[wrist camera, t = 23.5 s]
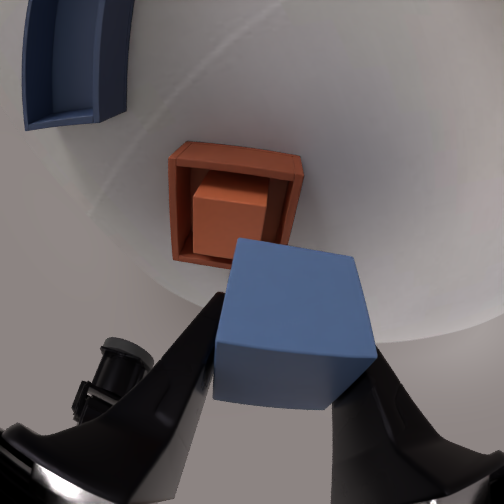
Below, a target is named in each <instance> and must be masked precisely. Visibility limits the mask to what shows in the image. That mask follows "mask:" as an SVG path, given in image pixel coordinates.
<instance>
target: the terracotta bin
mask: <svg viewBox="0 0 504 504" xmlns="http://www.w3.org/2000/svg"><path fill="white" fill-rule="evenodd" d="M209 170H218V171H226V172H234V173H241V174H249V175H256V176H262V177H268V178H269V188H268V199H267V208H266V214H265V220H264V225H263V231H262V237H261V241H264V242H270V243H276V244H282V245H288V241H289V237H290V233H291V229H292V225H293V221H294V217H295V213H296V209H297V204H298V200H299V196H300V192H301V187H302V183H303V179H304V173H303V168H302V163H301V159H300V156H297V155H292V154H286V153H280V152H274V151H268V150H261V149H255V148H247V147H240V146H232V145H223V144H213V143H203V142H191V141H186V142H185V143H184V144H183V145H182V146H181V147H179V148H178V149H177V150H176V151H175V152H174V153H173V154H172V155H171V156H170V157H169V158H168V177H169V208H170V227H171V243H172V256H173V260H176V261H179V260H180V261H182V262H188V263H194V264H200V265H206V266H212V267H218V268H224V269H231V266H232V261H233V259H228V258H222V257H216V256H209V255H203V254H197V253H193V196H194V194H195V192H196V191H197V189H198V187H199V186H200V184H201V183H202V181H203V179H204V178H205V176H206V175H207V173H208V171H209Z"/></svg>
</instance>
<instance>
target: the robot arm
mask: <svg viewBox="0 0 504 504" xmlns="http://www.w3.org/2000/svg"><path fill="white" fill-rule="evenodd" d="M224 298H225V293H223V292H217V293H216V294H215V295H214V296H213V297H212V299H211V300H210V301H209V302H208V303H207V305H206V306H205V307H204V308H203V309H202V311H201V312H200V313H199V314H198V315H197V316H196V318H195V319H194V320H193V321H192V322H191V324H190V325H189V326H188V327H187V328H186V329H185V330H184V332H183V333H182V334H181V335H180V336H179V338H178V339H177V340H176V341H175V343H173V345H172V346H171V347H170V348H169V349H168V351H167V352H166V353H165V354H164V355H163V356H162V358H161V360H159V361H158V362H157V363H156V365H155V366H154V367H153V368H152V369H151V370H150V371H149V372H148V373H147V370H146V368H145V366H144V364H143V361H142V359H141V358H139V357H137V356H133V355H130V354H126V353H123V352H120V351H116V350H113V349H110V348H107V347H104V346H101V348H100V350H101V351H102V353H103V357H102V359H101V362H100V364H99V366H98V369H97V371H96V374H95V376H94V379H93V381H92V383H91V382H89V381H87V382H85V381H82V382H81V384H80V387H79V389H78V392H77V394H76V397H75V400H74V402H73V405H72V410H73V412H74V413H73V415H74V418H73V420H75V421H76V422H77V425H76V426H75V427H72V428H69V429H66V430H63V431H61V432H58V433H55V434H51V435H45V436H43V435H40V434H38V433H36V432H34V431H32V430H31V429H29V428H27V427H26V426H24V425H22V424H20V423H16V424H14V425H12V426H10V427H9V428H7V429H6V430H3V429H2V428H0V504H157V502H161V501H166V500H170V499H174V497H175V494H176V491H177V488H178V485H179V481H180V478H181V475H182V472H183V469H184V466H185V462H186V459H187V456H188V452H189V450H190V446H191V443H192V440H193V437H194V433H195V431H196V427H197V424H198V421H199V418H200V415H201V411H202V408H203V405H204V402H205V399H206V396H207V392H208V389H209V386H210V383H211V380H212V376H213V373H214V357H215V340H216V335H217V330H218V326H219V321H220V316H221V311H222V307H223V302H224ZM375 346H376V345H375ZM376 351H377V359H376V360H375V361H374V362H373V363H372V364H371V365H370V366H369V367H368V368H367V369H366V371H365V372H364V373H363V374H362V375H361V376H360V377H359V378H358V379H357V380H356V381H355V382H354V383H353V384H352V385H351V386H350V387H349V388H348V389H346V390H345V391H344V392H343V393H342V394H341V395H340V396H339V397H338V398H337V399H336V400H335V401H334V402H333V403H332V422H333V423H332V425H333V456H332V457H333V459H332V460H333V464H332V488H331V504H504V453H503V452H502V451H500V450H498V451H495V452H493V453H491V454H489V455H486V454H481V453H478V452H475V451H473V450H470V449H467V448H465V447H462V446H460V445H457V444H455V443H452V442H450V441H448V440H446V439H444V438H443V437H441V436H440V435H439V434H438V433H437V432H436V431H435V429H434V428H433V427H432V426H431V424H430V423H429V422H428V420H427V419H426V418H425V416H424V415H423V414H422V412H421V411H420V410H419V408H418V407H417V406H416V404H415V403H414V402H413V400H412V399H411V397H410V396H409V394H408V393H407V391H406V390H405V388H404V387H403V385H402V384H401V383H400V381H399V379H398V378H397V376H396V375H395V373H394V371H393V370H392V369H391V367H390V366H389V364H388V363H387V361H386V359H385V358H384V356H383V355H382V353H381V352H380V351H379V349H378V348H377V346H376ZM87 392H88V393H89V394H91V395H92V396H89V395H87Z"/></svg>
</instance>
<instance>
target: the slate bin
mask: <svg viewBox="0 0 504 504" xmlns="http://www.w3.org/2000/svg"><path fill="white" fill-rule="evenodd" d="M133 5H134V0H29V2H28V7H27V13H26V20H25V28H24V37H23V50H22V101H23V115H24V125H25V131H30V130H36V129H43V128H50V127H58V126H67V125H77V124H90V123H100V122H102V121H105V120H107V119H109V118H111V117H114V116H116V115H118V114H121V113H123V112H126V111H127V106H126V102H127V66H128V50H129V38H130V28H131V20H132V12H133Z"/></svg>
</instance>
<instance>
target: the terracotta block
mask: <svg viewBox="0 0 504 504" xmlns="http://www.w3.org/2000/svg"><path fill="white" fill-rule="evenodd" d="M268 188H269V178H268V177H262V176H256V175H249V174H241V173H234V172H226V171H218V170H209V171H208V173H207V175H206V176H205V178H204V179H203V181H202V183H201V184H200V186H199V187H198V189H197V191H196V192H195V194H194V196H193V253H197V254H203V255H209V256H216V257H222V258H228V259H233V257H234V252H235V248H236V244H237V239H238V238H245V239H252V240H258V241H261V237H262V231H263V225H264V220H265V214H266V208H267V199H268Z"/></svg>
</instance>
